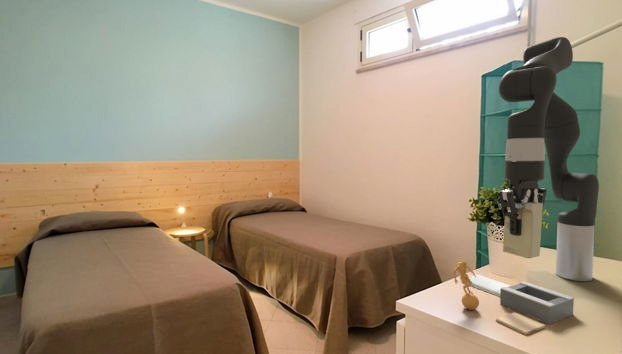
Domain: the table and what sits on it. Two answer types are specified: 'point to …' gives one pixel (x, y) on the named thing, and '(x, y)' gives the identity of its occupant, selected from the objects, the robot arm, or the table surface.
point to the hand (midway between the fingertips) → (522, 233)
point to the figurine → (469, 298)
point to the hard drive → (487, 284)
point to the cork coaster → (520, 323)
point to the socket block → (537, 302)
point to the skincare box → (525, 232)
